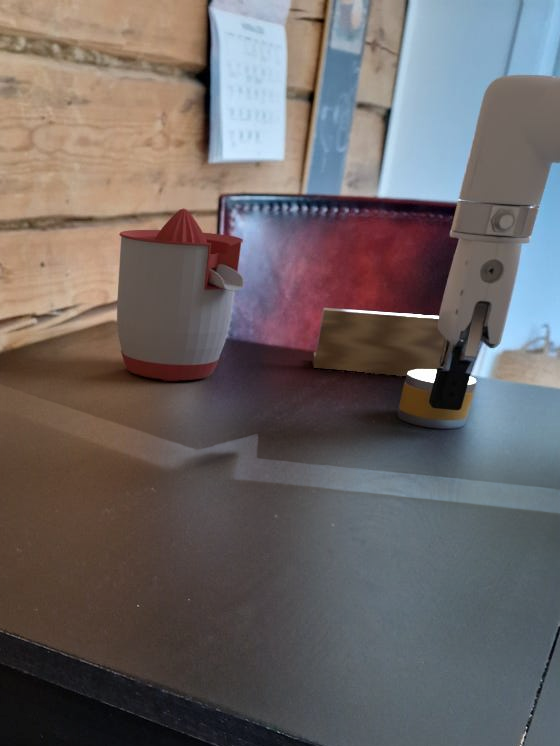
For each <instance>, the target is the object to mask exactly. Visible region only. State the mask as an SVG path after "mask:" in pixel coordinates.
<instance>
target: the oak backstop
mask: <svg viewBox="0 0 560 746" xmlns="http://www.w3.org/2000/svg"><path fill="white" fill-rule="evenodd" d="M438 318H439V315H428V314H427V315H426V314H425V315H424V314H413V313H398V312H385V311H373V310H362V309H361V310H360V309H359V310H358V309H346V308H334V307H323V308H322V314H321V319H320V323H319V331H318V336H317V342H316V347H315V351H314V352H313V353H312V359H313V361H312V367H313V366H314V367H313V369H314V368H325V369H337V370H347V371H357V372H365V373H364V374H367V373H371V374H370V375H379V374H385V375H384V376H390V375H396V376H395V377H402V376H406V375H407V372H409V371H411V370H417V369H433V370H437V368H443V367H439V361H440V357H441V352H442V348H443V343H444V339H445V337H444V336H443V335H442V334H441V333H440V331H439V330H438ZM373 373H374V374H373Z"/></svg>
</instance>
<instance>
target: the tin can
mask: <svg viewBox="0 0 560 746" xmlns="http://www.w3.org/2000/svg"><path fill="white" fill-rule="evenodd" d="M436 371H437V370H433V369H417V370H411V371H409V372H407V375H406V377H405V380H404V381H403V387H402V392H401V396H400V399H399V405H398V411H397V418H398V419H400V420H401V421H403V422H405V423H408V424H411V425H414V426H417V427H424V428H429V429H438V430H440V429H441V430H453V429H460V428H463V427H465V426H466V423H467V419H468V417H469V413H470V409H471V405H472V402H473V400H474V395H475V391H476V386H477V380H476V378H474V377H472V376H470V378H469V382H468V386H467V389H466V393H465V397H464V400H463V404H462V407H461V409H460V410H448V409H437V408H432V406H431V405H430V403H429V399H430V395H431V391H432V387H433V383H434V379H435V375H436Z"/></svg>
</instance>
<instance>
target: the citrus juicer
mask: <svg viewBox="0 0 560 746" xmlns="http://www.w3.org/2000/svg"><path fill="white" fill-rule="evenodd" d="M118 235H119V236H120V251H119V269H118V281H117V283H118V285H117V300H116V322H117V323H116V324H117V334H118V340H119V346H120V349H121V350H120V353H121V357H122V359H123V363H124V366H125V368H126V370H127V371H129V372H130V373H132V374H135V375H139V376H142V377H146V378H152V379H160V380H162V381H163V380H164V381H163V382H166V381H177V382H179V381H191V380H199V379H204V378H207V377H209V376H211V375H212V373H213V372H214V370H215V368H216V366H217V364H218V362H219V360H220V356H221V353H222V351H223V348H224V346H225V344H226V341H227V340H226V339H227V337H228V333H229V330H230V326H231V321H232V315H233V309H234V299H235V292H236V291H237V292H238V291H241V290H242V289H243V288H244V278H243V275H242V274H240V273H239V272H238V271H239V263H240V257H241V256H240V255H241V249H242V244H243V243H244V240H243V238H241V237H237V236H233V235H228V234H220V233H212V232H203V230H202V228H201V227H200V225H199V223H198V222H197V221H196V219H195V218H194V216H193V214H191V213H190V211H189V210H188V209H186V208H181V209H179V210H178V211H176V212H175V214H173V215H172V216H171V217H170V218H169V219H168V220H167V221H166V222H165V224H164V225H163V226H162V228H161V229H132V230H131V229H130V230H123V231H120V232H119V234H118Z"/></svg>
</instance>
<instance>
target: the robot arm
mask: <svg viewBox="0 0 560 746" xmlns="http://www.w3.org/2000/svg"><path fill="white" fill-rule="evenodd" d="M553 164H560V77H558V76H553V75H542V74H511V75H503V76H499V77H498V78H495V79H494V80H492V81H491V83H490V84H489V85H488V86H487V87H486V90H485V92H484V94H483V97H482V101H481V104H480V108H479V113H478V117H477V121H476V125H475V129H474V134H473V138H472V141H471V146H470V150H469V155H468V158H467V162H466V165H465V171H464V174H463V178H462V183H461V187H460V191H459V194H458V199H457V203H456V208H455V211H454V216H453V220H452V223H451V224H452V225H451V228H450V231H449V237H450V238H453V239H458V242H457V246H456V249H455V252H454V253H453V259H452V262H451V266H450V269H449V273H448V277H447V281H446V285H445V288H444V292H443V297H442V300H441V304H440V309H439V314H438V316H439V318H438V330H439V331H440V333H441V334H442V335H443V336H444V337H445V339H444V343H443V348H442V352H441V357H440V361H439V367H443V368H437V371H436V375H435V379H434V383H433V387H432V391H431V395H430V399H429V403H430V405H431V406H432V408H437V409H448V410H460V409H461V407H462V404H463V400H464V397H465V393H466V389H467V386H468V382H469V378H470V377H471V374H472V370H473V367H474V364H475V361H476V360H477V357H478V352H479V349H480V345H481V342H482V343H483V344H484V345H485V346H486V347H487V348H489V349H495V348H497V347H499V346H500V344H501V343H502V339H503V336H504V335H503V334H504V331H505V327H506V322H507V319H508V314H509V310H510V306H511V302H512V298H513V293H514V291H515V285H516V280H517V276H518V270H519V265H520V260H521V254H522V253H521V252H522V245H523V244H529V243H530V241H531V237H532V234H533V230H534V227H535V223H536V220H537V216H538V213H539V209H540V206H541V202H542V199H543V195H544V193H545V192H544V191H545V189H546V185H547V181H548V177H549V174H550V171H551V167H552V165H553Z"/></svg>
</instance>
